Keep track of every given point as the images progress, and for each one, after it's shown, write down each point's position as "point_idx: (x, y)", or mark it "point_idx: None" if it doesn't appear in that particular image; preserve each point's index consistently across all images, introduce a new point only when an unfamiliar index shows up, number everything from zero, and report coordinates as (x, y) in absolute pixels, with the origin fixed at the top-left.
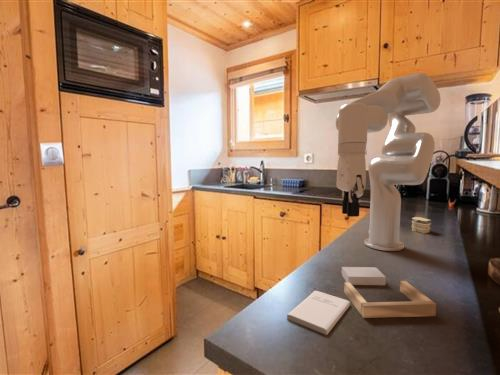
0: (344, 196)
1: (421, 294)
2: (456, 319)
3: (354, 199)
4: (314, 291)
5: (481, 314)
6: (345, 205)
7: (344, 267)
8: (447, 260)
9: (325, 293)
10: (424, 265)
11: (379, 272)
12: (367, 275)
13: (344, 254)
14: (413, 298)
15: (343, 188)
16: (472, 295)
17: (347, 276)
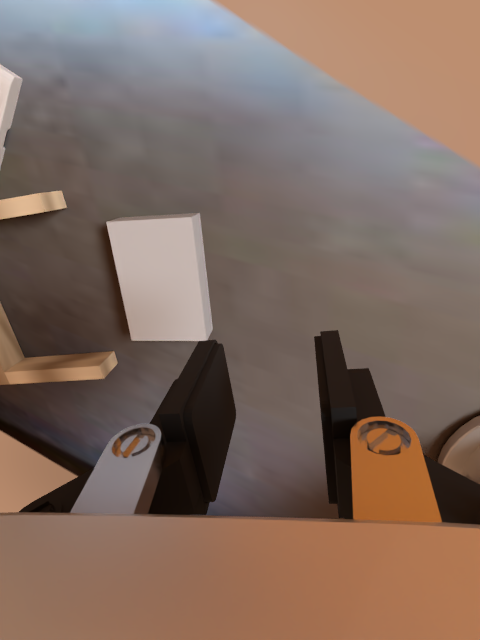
0: (353, 466)
1: (32, 378)
2: (21, 399)
3: (77, 486)
4: (6, 74)
5: (55, 448)
6: (319, 393)
7: (186, 226)
8: None
9: (2, 116)
10: (300, 485)
11: (163, 335)
12: (131, 290)
13: (424, 276)
14: (56, 359)
15: (45, 541)
16: None
17: (119, 220)
